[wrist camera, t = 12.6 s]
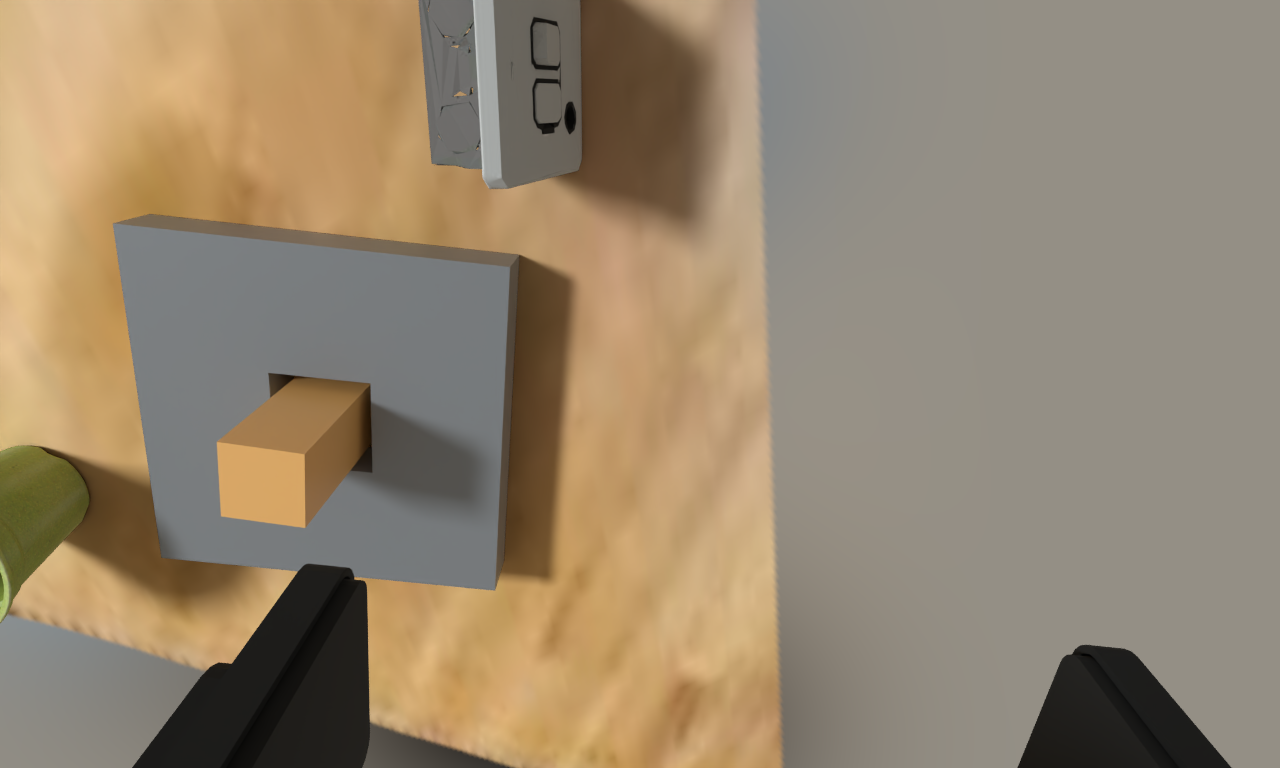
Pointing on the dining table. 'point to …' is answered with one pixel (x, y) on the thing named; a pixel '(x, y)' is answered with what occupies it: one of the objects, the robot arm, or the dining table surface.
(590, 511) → the dining table surface
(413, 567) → the socket plate
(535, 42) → the electrical switch
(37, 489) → the plant pot
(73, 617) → the dining table surface
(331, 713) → the robot arm
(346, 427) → the plug
